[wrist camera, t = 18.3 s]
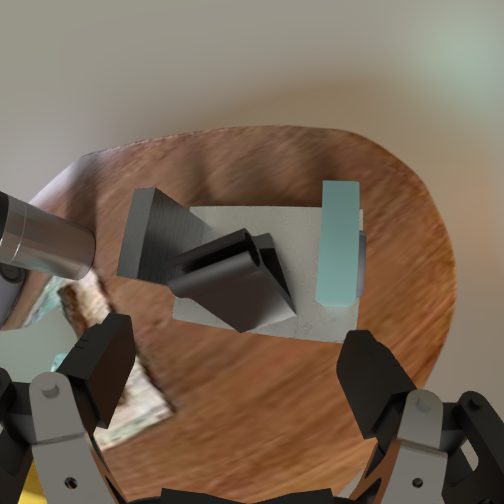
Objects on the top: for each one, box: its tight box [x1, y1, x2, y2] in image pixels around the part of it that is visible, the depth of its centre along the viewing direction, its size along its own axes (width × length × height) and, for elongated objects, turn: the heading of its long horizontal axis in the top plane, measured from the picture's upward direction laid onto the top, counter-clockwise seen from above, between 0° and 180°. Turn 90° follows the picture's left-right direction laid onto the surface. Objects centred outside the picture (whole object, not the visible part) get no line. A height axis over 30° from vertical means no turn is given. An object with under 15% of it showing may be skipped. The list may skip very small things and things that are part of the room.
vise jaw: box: [315, 180, 366, 307], centre depth 21 cm, size 8×4×10 cm, turn 173°
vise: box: [117, 187, 363, 343], centre depth 25 cm, size 14×20×12 cm
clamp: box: [18, 459, 47, 504], centre depth 33 cm, size 14×25×12 cm
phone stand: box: [164, 228, 296, 333], centre depth 23 cm, size 9×6×12 cm, turn 17°
